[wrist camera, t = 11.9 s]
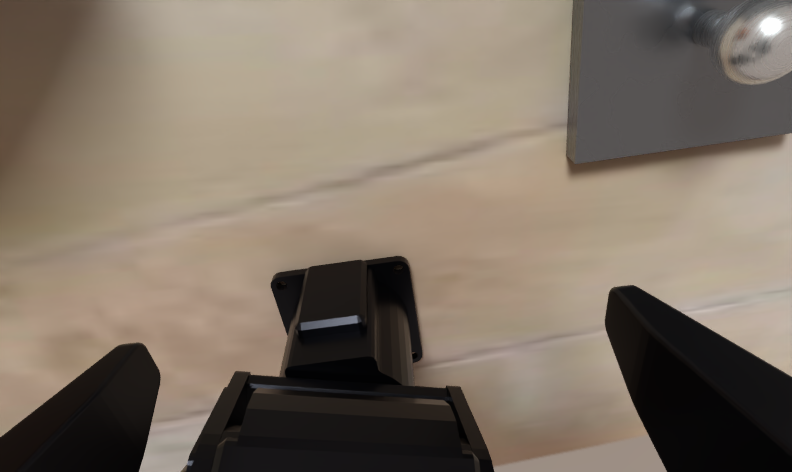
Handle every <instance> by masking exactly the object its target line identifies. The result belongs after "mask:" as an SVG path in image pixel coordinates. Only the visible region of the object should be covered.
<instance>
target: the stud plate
mask: <svg viewBox="0 0 792 472" xmlns="http://www.w3.org/2000/svg"><path fill="white" fill-rule="evenodd" d="M788 133H792V0H573V21H572V43H571V65H570V87H569V109H568V131H567V153H566V155H567V156H568V157H569V158H570V159H571V160H572V162H573V163H574V164H579V163H586V162H593V161H600V160H607V159H614V158H621V157H628V156H635V155H642V154H649V153H656V152H663V151H670V150H677V149H684V148H691V147H698V146H705V145H712V144H719V143H726V142H733V141H740V140H747V139H754V138H761V137H767V136H774V135H781V134H788Z"/></svg>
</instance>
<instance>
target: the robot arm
mask: <svg viewBox="0 0 792 472" xmlns="http://www.w3.org/2000/svg"><path fill="white" fill-rule="evenodd" d="M397 265H401V266H402V269H395V268H394V267H395V266H397ZM280 281H281V282H285V283H286V285H281V284H279V283H278V282H280ZM271 288H272V291H273V294H274V297H275V300H276V303H277V306H278V309H279V312H280V315H281V318H282V321H283V324H284V327H285V330H286V332H287V335H288V338H287V343H286V347H285V352H284V357H283V361H282V366H281V370H280V375H279V377H275V376H261V375H251V374H250V372H242V371H235V373H234V375H233V377H232V379H231V381H230V383H229V385H228V387H225V388H224V389H223V391H222V393H221V395H220V397H219V399H218V401H217V403H216V405H215V407H214V409H213V411H212V413H211V415H210V417H209V418H208V420H207V422H206V424H205V426H204V428H203V430H202V432H201V434H200V436H199V438H198V440H197V442H196V444H195V445H194V447H193V449H192V451H191V453H190V456H189V459H188V463H187V465H186V466H185V467H184V468H183V470H182V471H181V472H494V469H493V465H492V460H491V457H490V454H489V451H488V449H487V446H486V444H485V442H484V440H483V437H482V435H481V433H480V431H479V428H478V426H477V424H476V421H475V419H474V417H473V415H472V412H471V410H470V408H469V406H468V403H467V401H466V399H465V396H464V394H463V392H462V390H461V387H458V386H446V388H434V387H420V386H415V383H414V372H413V363H414V362H418V361H419V360H420V359H421V358H422V347H421V341H420V334H419V328H418V321H417V314H416V308H415V301H414V295H413V288H412V282H411V275H410V268H409V263H408V260H407V259H406V258H404V257H402V256H394V257H387V258H380V259H373V260H365V261H362V260H355V261H348V262H341V263H333V264H326V265H319V266H312V267H309V268H308V269H300V270H293V271H286V272H280V273H276V274H275V275H274V276H273V279H272V282H271ZM605 327H606V331H607V334H608V337H609V340H610V342H611V345H612V348H613V351H614V353H615V356H616V359H617V361H618V364H619V367H620V370H621V372H622V375H623V378H624V380H625V383H626V386H627V389H628V391H629V394H630V396H631V399H632V402H633V404H634V406H635V408H636V410H637V413H638V415H639V417H640V419H641V421H642V423H643V425H644V427H645V429H646V431H647V433H648V435H649V437H650V438H651V441H652V443H653V444H654V447H655V449H656V451H657V452H658V455H659V457H660V458H661V460H662V462H663V464H664V466H665V468H666V470H667V472H792V377H791V376H790V375H788V374H786V373H784V372H783V371H781V370H779V369H777V368H776V367H774V366H772V365H771V364H769V363H767V362H765V361H764V360H762V359H760V358H759V357H757V356H755V355H753V354H752V353H750V352H748V351H747V350H745V349H743V348H741V347H740V346H738V345H736V344H735V343H733V342H731V341H729V340H728V339H726V338H724V337H723V336H721V335H719V334H717V333H716V332H714V331H712V330H711V329H709V328H707V327H705V326H704V325H702V324H700V323H699V322H697V321H695V320H693V319H692V318H690V317H688V316H686V315H685V314H683V313H681V312H680V311H678V310H676V309H674V308H673V307H671V306H669V305H668V304H666V303H664V302H662V301H661V300H659V299H657V298H656V297H654V296H652V295H650V294H649V293H647V292H645V291H644V290H642V289H640V288H638V287H636V286H634V285H628V286H619V287H614V288H612V289H611V290H610V292H609V296H608V303H607V310H606V316H605ZM412 352H415V353H414V354H412ZM159 386H160V372H159V369H158V367H157V366H156V364H155V362H154V360H153V359H152V357H151V355H150V353H149V352H148V350H147V348H146V346H145V345H143V344H142V343H128V344H122V345H119V346H117V347H116V348H114V349H113V350H112V351H110V352H109V353H108V354H107V355H105V356H104V357H103V358H101V359H100V360H99V361H98V362H96V363H95V364H94V365H93V366H91V367H90V368H89V369H87V370H86V371H85V372H84V373H82V374H81V375H80V376H78V377H77V378H76V379H75V380H73V381H72V382H71V383H69V384H68V385H67V386H66V387H64V388H63V389H62V390H60V391H59V392H58V393H57V394H55V395H54V396H53V397H52V398H50V399H49V400H48V401H46V402H45V403H44V404H43V405H41V406H40V407H39V408H37V409H36V410H35V411H34V412H32V413H31V414H30V415H28V416H27V417H26V418H25V419H23V420H22V421H21V422H19V423H18V424H17V425H16V426H14V427H13V428H12V429H11V430H9V431H8V432H7V433H5V434H4V435H3V436H2V437H0V472H139V469H140V466H141V462H142V459H143V456H144V452H145V448H146V444H147V440H148V435H149V431H150V426H151V422H152V417H153V413H154V408H155V404H156V399H157V395H158V390H159Z"/></svg>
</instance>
